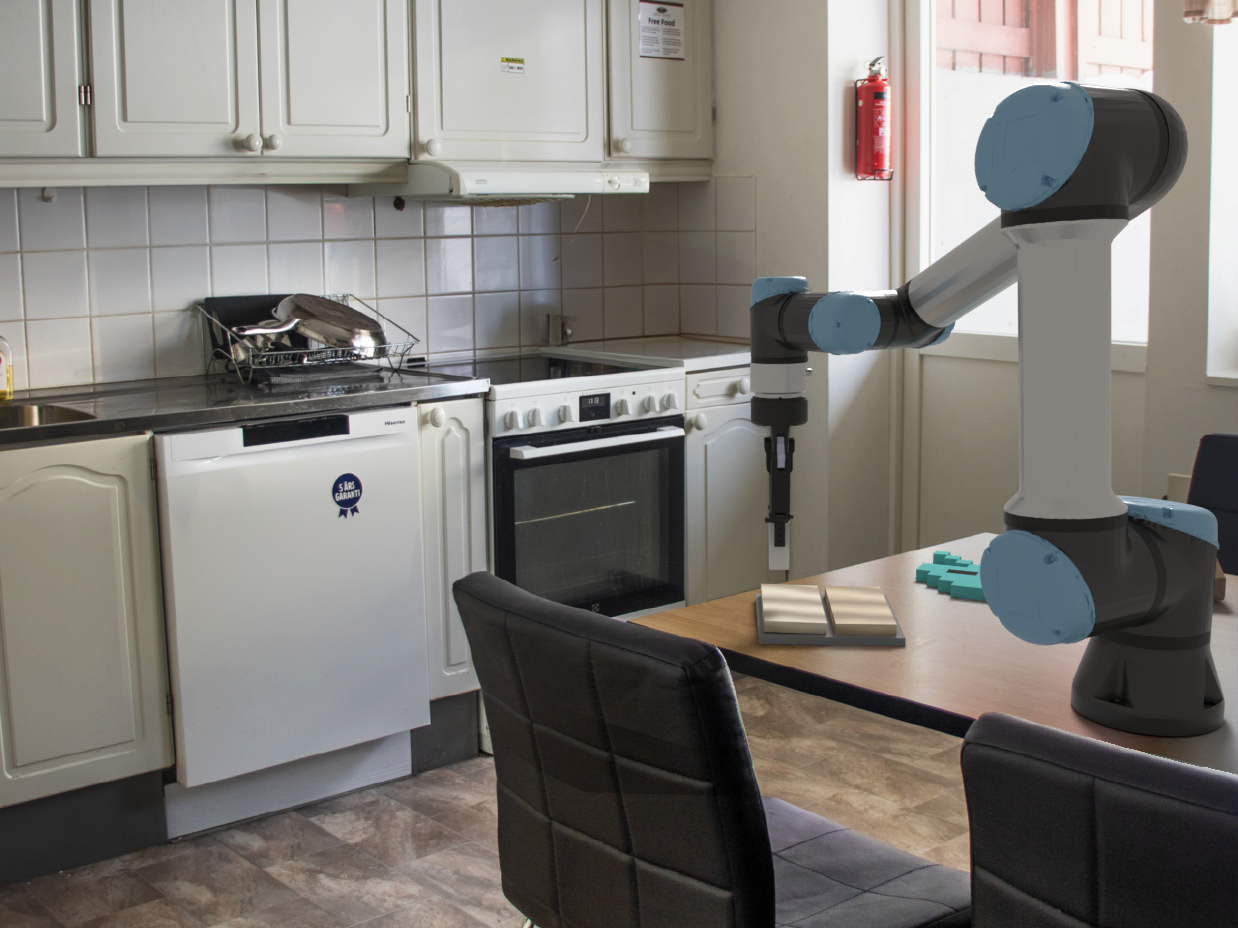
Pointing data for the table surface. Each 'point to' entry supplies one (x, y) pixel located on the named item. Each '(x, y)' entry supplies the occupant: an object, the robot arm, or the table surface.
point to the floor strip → (859, 611)
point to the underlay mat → (825, 638)
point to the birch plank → (792, 609)
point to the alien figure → (952, 576)
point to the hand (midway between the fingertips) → (779, 568)
